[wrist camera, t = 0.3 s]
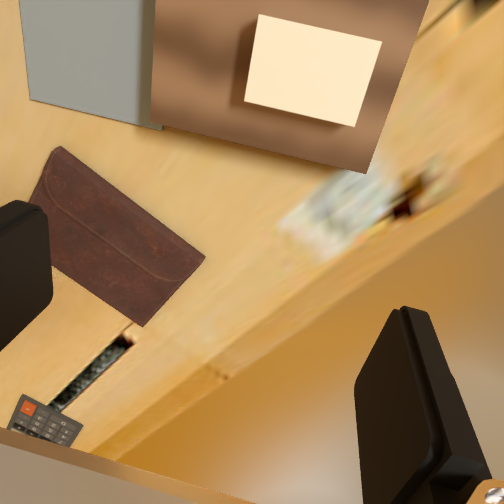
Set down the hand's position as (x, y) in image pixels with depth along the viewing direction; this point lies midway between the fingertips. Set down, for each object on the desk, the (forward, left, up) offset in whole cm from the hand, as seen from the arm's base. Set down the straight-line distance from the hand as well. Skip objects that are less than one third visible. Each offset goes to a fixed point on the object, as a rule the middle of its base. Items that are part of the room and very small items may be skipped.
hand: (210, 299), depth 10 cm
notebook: (+20, -18, -30) cm, 41 cm away
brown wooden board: (-4, -2, -29) cm, 30 cm away
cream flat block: (-4, +1, -26) cm, 26 cm away
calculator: (+64, -31, -30) cm, 78 cm away
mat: (-3, -19, -29) cm, 35 cm away
